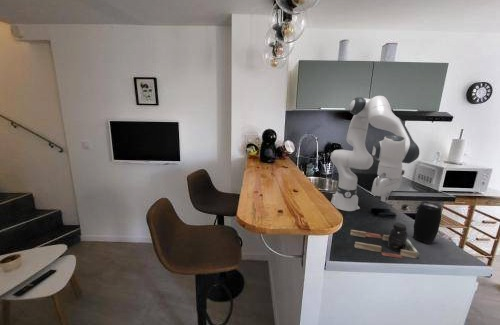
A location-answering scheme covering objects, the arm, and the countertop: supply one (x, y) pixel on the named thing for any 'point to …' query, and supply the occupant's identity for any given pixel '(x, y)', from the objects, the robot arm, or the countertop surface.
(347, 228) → the countertop surface
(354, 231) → the channel
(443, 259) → the countertop surface
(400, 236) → the supplement bottle
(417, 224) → the portable speaker
